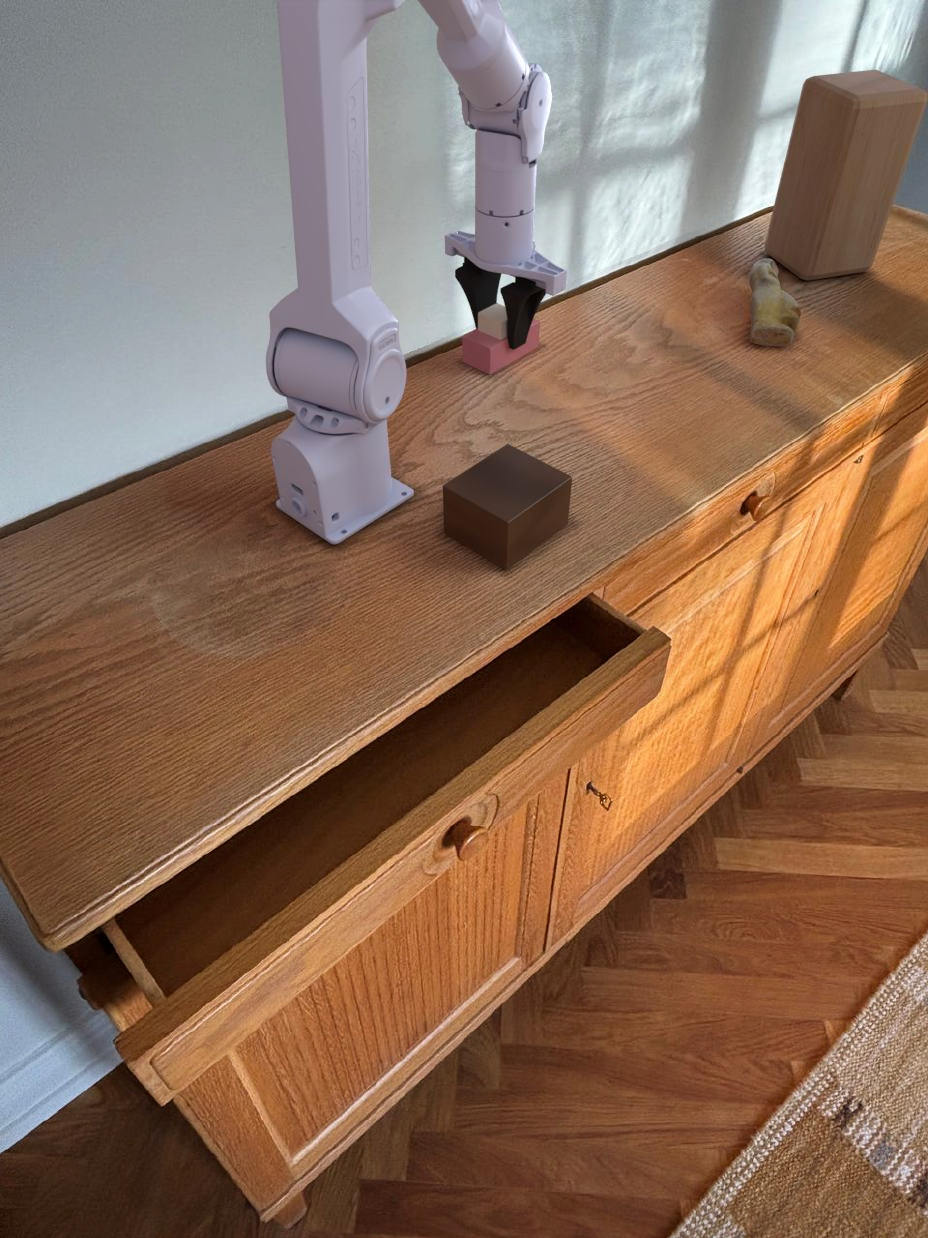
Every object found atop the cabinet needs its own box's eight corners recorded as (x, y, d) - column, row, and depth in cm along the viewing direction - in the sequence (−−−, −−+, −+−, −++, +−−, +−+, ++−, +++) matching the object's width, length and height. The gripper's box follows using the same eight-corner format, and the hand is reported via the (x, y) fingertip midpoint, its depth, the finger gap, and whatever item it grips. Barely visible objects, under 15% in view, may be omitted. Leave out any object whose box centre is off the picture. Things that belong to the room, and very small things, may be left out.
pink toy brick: (489, 375, 91) (490, 330, 87) (462, 362, 93) (461, 317, 89) (538, 347, 95) (541, 303, 91) (511, 335, 97) (512, 291, 93)
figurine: (813, 331, 92) (802, 253, 101) (772, 309, 91) (764, 232, 100) (781, 366, 96) (773, 288, 105) (740, 346, 95) (736, 268, 104)
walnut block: (506, 571, 70) (507, 522, 66) (443, 533, 73) (442, 485, 69) (568, 524, 74) (572, 476, 70) (506, 490, 77) (507, 443, 74)
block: (759, 251, 112) (801, 74, 98) (826, 241, 114) (877, 66, 100) (802, 284, 105) (854, 98, 91) (873, 273, 107) (935, 89, 93)
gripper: (591, 213, 81) (578, 347, 91) (477, 176, 88) (476, 304, 98) (543, 236, 78) (535, 372, 88) (428, 195, 85) (433, 326, 95)
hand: (501, 338), depth 93 cm, fingers closed on pink toy brick, 4 cm apart
